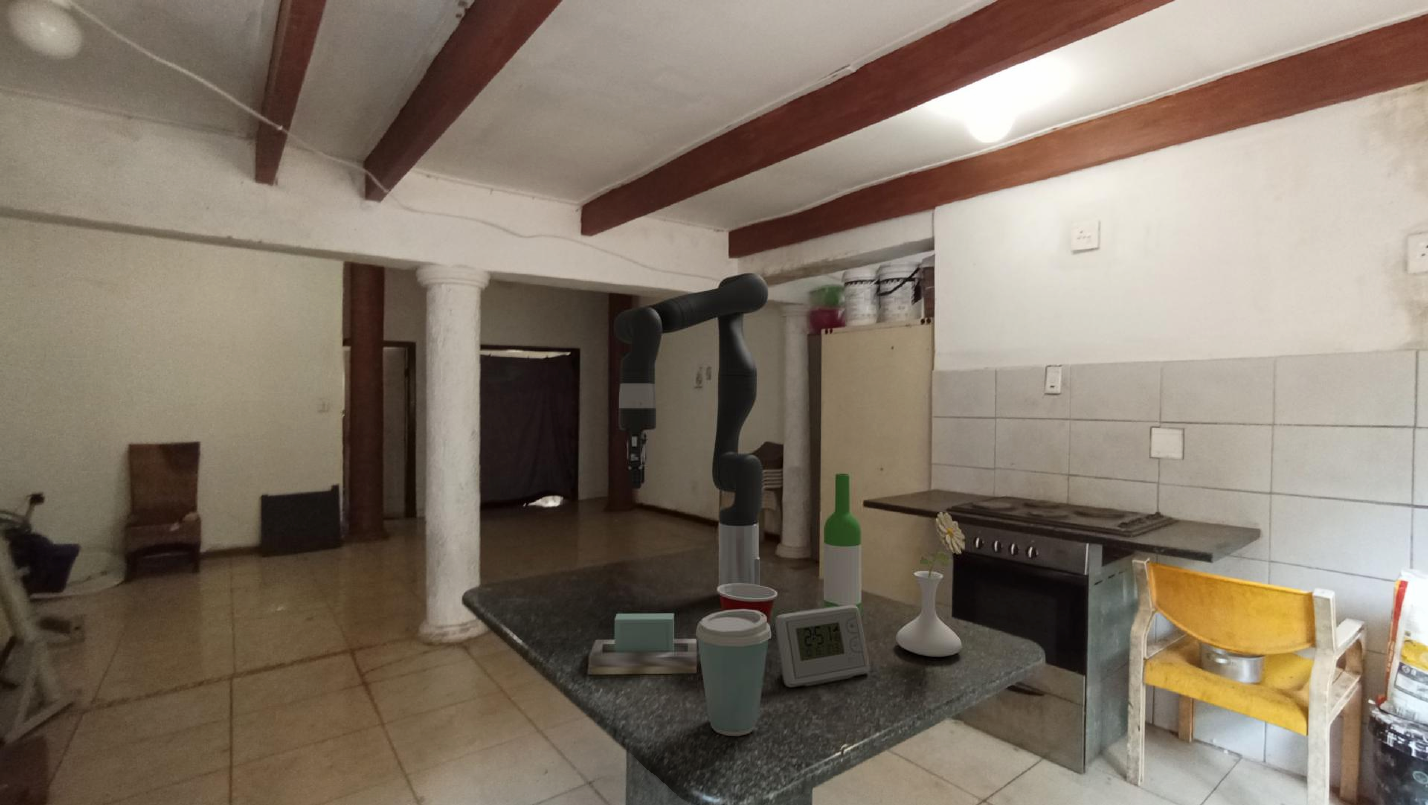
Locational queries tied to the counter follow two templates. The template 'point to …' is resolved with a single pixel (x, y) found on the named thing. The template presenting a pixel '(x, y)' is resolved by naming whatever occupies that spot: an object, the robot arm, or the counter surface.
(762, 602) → the plastic cup
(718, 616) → the disposable coffee cup
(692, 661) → the board
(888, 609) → the counter surface
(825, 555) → the wine bottle
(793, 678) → the digital clock
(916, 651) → the flower in vase
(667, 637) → the green rectangular block
